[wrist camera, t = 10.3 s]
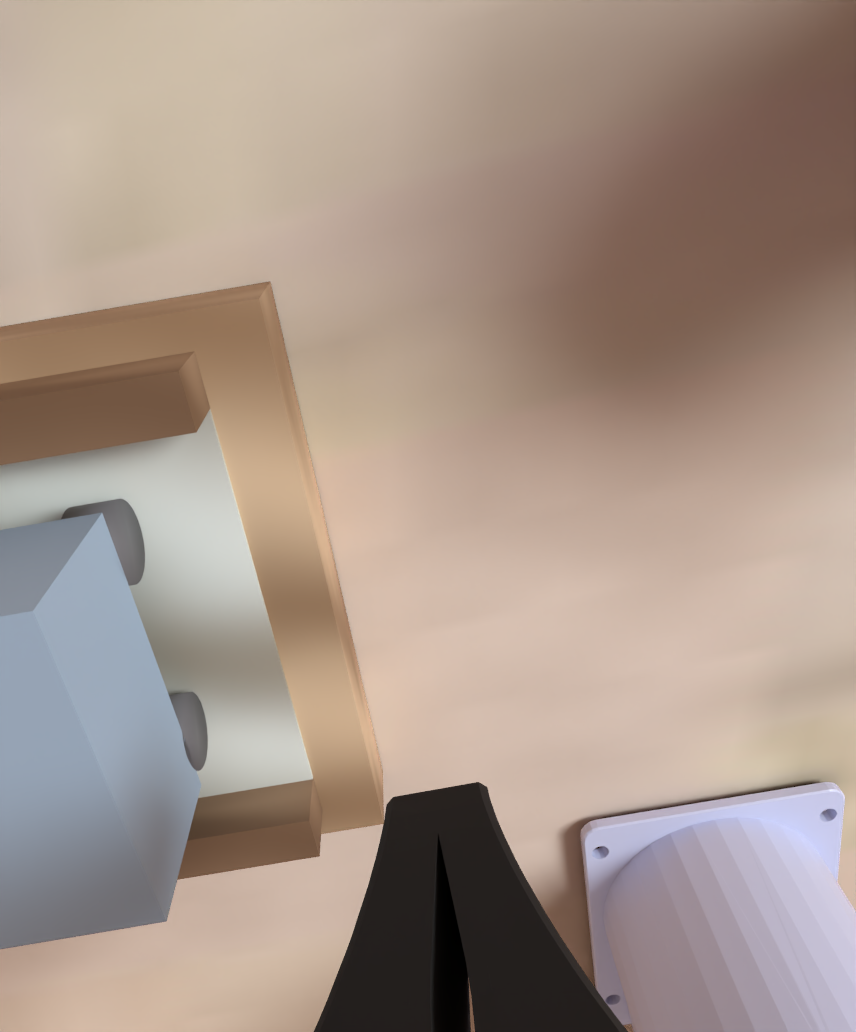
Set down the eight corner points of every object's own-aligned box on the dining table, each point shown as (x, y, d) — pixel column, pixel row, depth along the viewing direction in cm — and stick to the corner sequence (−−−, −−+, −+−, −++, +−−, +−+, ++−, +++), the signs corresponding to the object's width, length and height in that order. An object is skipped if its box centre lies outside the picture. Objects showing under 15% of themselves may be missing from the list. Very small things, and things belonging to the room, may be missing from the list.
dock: (382, 771, 24) (384, 869, 21) (9, 832, 24) (-46, 940, 21) (270, 281, 18) (248, 313, 15) (-229, 365, 18) (-358, 415, 15)
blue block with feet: (213, 738, 20) (166, 920, 16) (30, 769, 20) (-73, 961, 16) (124, 480, 17) (33, 610, 13) (-90, 517, 17) (-263, 661, 13)
